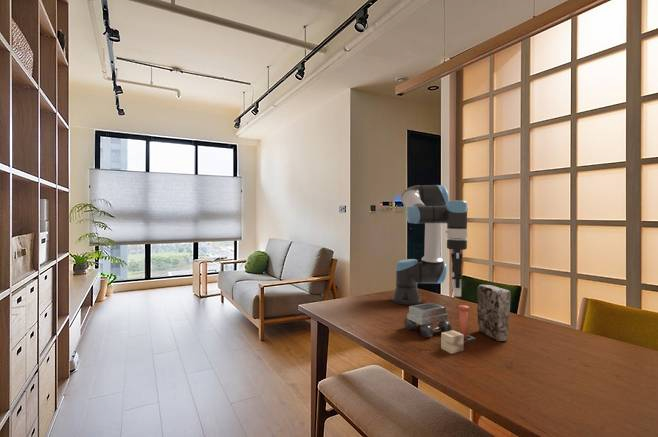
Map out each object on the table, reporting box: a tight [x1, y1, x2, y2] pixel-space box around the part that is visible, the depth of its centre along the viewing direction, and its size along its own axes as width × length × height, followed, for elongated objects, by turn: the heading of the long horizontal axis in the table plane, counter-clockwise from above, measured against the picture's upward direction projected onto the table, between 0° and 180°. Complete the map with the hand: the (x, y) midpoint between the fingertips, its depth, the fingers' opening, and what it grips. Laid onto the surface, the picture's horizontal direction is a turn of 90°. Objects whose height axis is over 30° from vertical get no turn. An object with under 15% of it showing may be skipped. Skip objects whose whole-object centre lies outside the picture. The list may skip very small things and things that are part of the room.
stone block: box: [476, 284, 512, 342], centre depth 138 cm, size 13×7×20 cm, turn 19°
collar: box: [464, 334, 477, 344], centre depth 135 cm, size 6×6×1 cm
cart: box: [403, 302, 452, 339], centre depth 144 cm, size 14×15×10 cm
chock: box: [440, 329, 465, 354], centre depth 125 cm, size 6×5×6 cm
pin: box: [457, 304, 470, 339], centre depth 135 cm, size 4×4×13 cm
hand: (456, 292), depth 136 cm, fingers open, 13 cm apart
